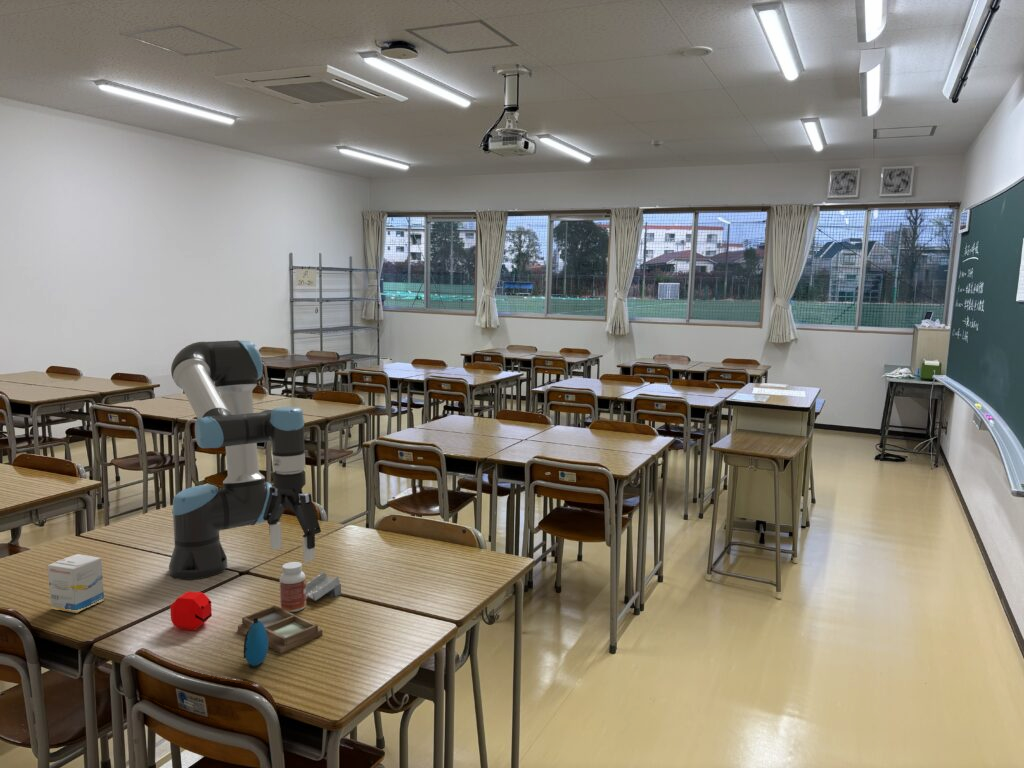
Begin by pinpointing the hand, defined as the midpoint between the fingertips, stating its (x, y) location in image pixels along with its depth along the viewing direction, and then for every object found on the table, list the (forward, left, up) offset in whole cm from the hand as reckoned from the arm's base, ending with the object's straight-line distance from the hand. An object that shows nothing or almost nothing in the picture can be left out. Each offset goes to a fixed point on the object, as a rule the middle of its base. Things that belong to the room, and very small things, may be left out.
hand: (292, 555), depth 177 cm
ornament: (+17, -21, -14) cm, 30 cm away
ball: (-10, -21, -14) cm, 27 cm away
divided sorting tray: (+9, -10, -14) cm, 19 cm away
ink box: (-43, -33, -14) cm, 56 cm away
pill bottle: (0, 0, -14) cm, 14 cm away
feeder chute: (0, +8, -14) cm, 16 cm away
